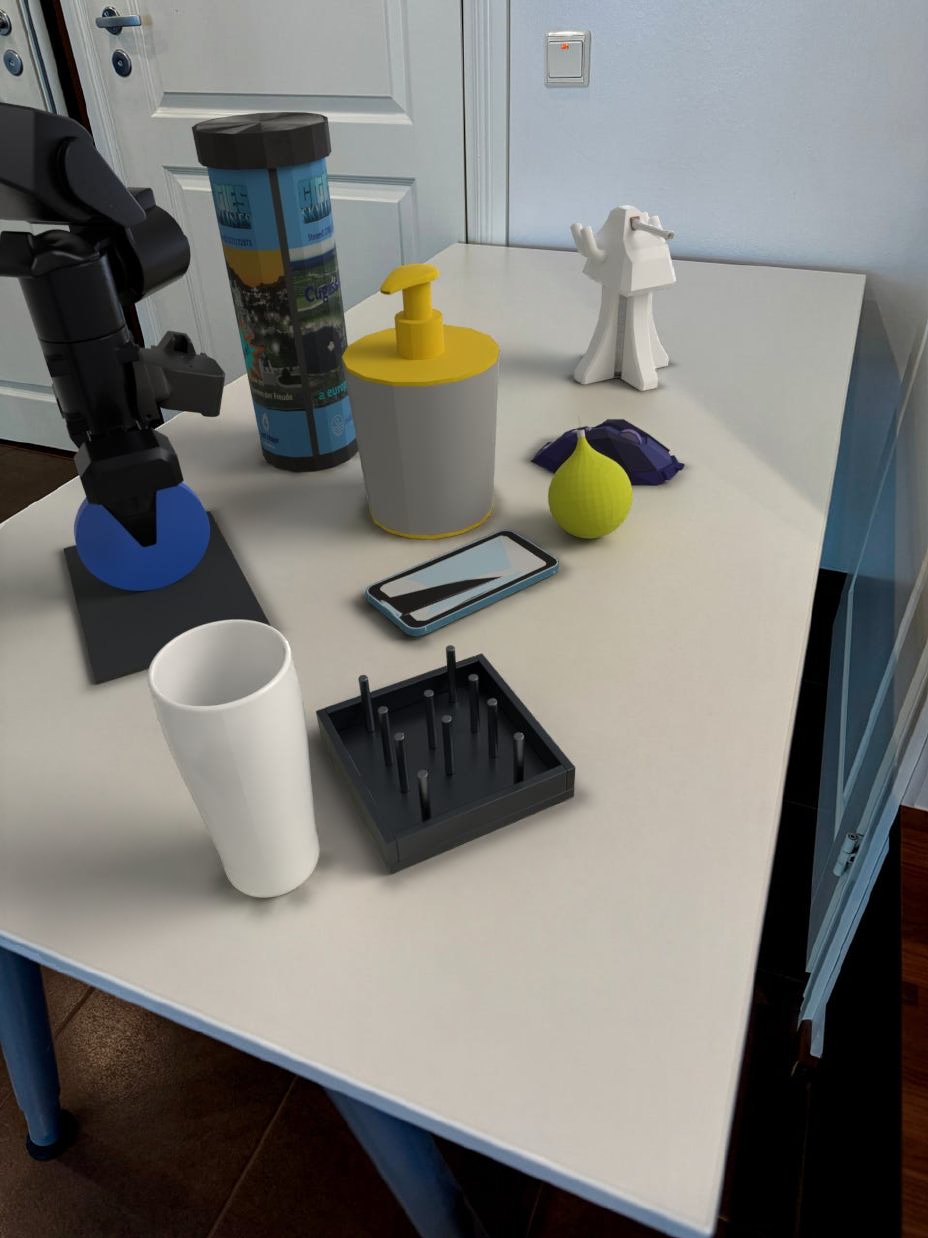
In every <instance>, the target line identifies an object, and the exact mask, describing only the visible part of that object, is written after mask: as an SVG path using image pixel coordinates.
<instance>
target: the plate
mask: <svg viewBox="0 0 928 1238" xmlns="http://www.w3.org/2000/svg"><path fill="white" fill-rule="evenodd" d="M209 536H210V525H209V520H208V516H207V513H206V509H205V507H204V505H203V503H202V501H201V499H200V498H199V497H198V495H197V493H195V491H194V490H192V489H191V487H190V486H189V485H187V484H186V483H184V481H183V482H181V483H180V484H179V485H178V486H175V487H171V488H167V489H163V490H159V491H157V543H156V544H155V545H152V546H148V547H142V546H141V545H140V544H139V543H138V542H137V541H136V540H135V539H134V538H133V537H132V536H131V535H130V534H129V533H128V532H127V531H126V530H125V528H124V527H123V526H122V525H121V524H120V523H119V522H118V521H117V520H116V519H115V518H114V517H113V516H112V515H111V514H110V513H109V512H108V511H107V510H106V509H105V508H104V507H103V506H102V505H94V504H89V503H88V500H87V497H86V496H85V498H84V499H83V501H82V502H81V504H80V506H79V507H78V509H77V512H76V514H75V518H74V523H73V538H74V542H75V545H76V546H77V550H78V553H79V556H80V558H81V560H82V562H83V563H84V565H85V566H86V567H87V569H88V570H89V571H90V572H91V573H92V574H93V575H95V576H96V577H97V578H98V579H100V580H101V581H103V582H105V583H107V584H109V585H111V586H114V587H117V588H120V589H125V590H131V591H148V590H155V589H159V588H163V587H166V586H168V585H171V584H173V583H175V582H177V581H179V580H180V579H182V578H183V577H185V576H186V575H187V574H189V573H190V572H191V571H192V570H193V569H194V568H195V567H196V566H197V564H198V563H199V562H200V560H201V559H202V557H203V555H204V554H205V551H206V549H207V546H208V542H209Z"/></svg>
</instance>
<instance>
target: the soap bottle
mask: <svg viewBox="0 0 928 1238" xmlns="http://www.w3.org/2000/svg"><path fill="white" fill-rule="evenodd" d="M439 277H440V270H439V268H437V267H436V266H435V265H432V264H428V263H407V264H403V265H400V266H398V267H396V268H395V269H393V270H392V271H391V272H390V273H389V274H388V275H387V277H385V279H384V281H383V282H382V284H381V285H380V287H379V291H380V293H381V294H382V295H385V296H392V295H393V294H396V293H398V292H402V306H403V310H400V311H398V312H397V313H395V314H394V327H389V328H386V329H383V330H379V331H376V332H372V333H369V334H366V335H363V336H362V337H360V338H358V339H357V340H355V341H354V342H351V343H350V344H348V347H347V349H346V351H345V352H344V354H343V356H342V364H343V369H344V375H345V380H346V385H347V391H348V396H349V402H350V407H351V412H352V418H353V423H354V429H355V434H356V439H357V445H358V455H359V460H360V466H361V471H362V477H363V482H364V488H365V493H366V499H367V504H368V509H369V513H370V516H371V518H372V520H373V523H374V524H375V525H377V526H378V527H380V528H381V529H383V530H384V531H386V532H387V533H388V534H393V535H396V536H400V537H404V538H408V539H418V540H419V539H421V540H422V539H423V540H424V539H425V540H438V539H442V538H449V537H453V536H454V537H455V536H459V535H462V534H464V533H466V532H469V531H471V530H473V529H475V528H477V527H479V526H481V525H482V524H484V522H485V521H486V520H487V519H488V518H489V516H491V515H492V512H493V506H494V492H495V489H494V488H495V470H496V469H495V468H496V467H495V466H496V465H495V464H496V445H497V444H496V441H497V421H498V400H499V399H498V394H499V376H500V375H499V374H500V373H499V372H500V351H501V350H500V345H499V344H498V343H497V342H496V341H495V339H493V337H492V336H491V335H489V334H487V333H484V332H481V331H479V330H477V329H474V328H471V327H464V326H458V325H452V324H444V323H443V322H444V321H443V313H442V312H441V311H440V310H438V309H436V308H433V300H432V299H433V297H432V284H431V282H434V281H435V280H437V279H439Z"/></svg>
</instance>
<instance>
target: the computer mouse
mask: <svg viewBox="0 0 928 1238" xmlns="http://www.w3.org/2000/svg"><path fill="white" fill-rule="evenodd" d="M580 427H581V429H580ZM580 427H576V428H572V429H569V430H567V431H564V432H563V433H562V434H561V435H560V436H558V437H557V438H556V439H554V440H552V441H547V442H546V444H544V445H543V446H542V447H541V448H540V449H539V450H538V451H537V452H536V454H534V456H533V458H532V459H531V462H532V463H534V464H536V465H538V466H540V467H542V468H543V469H545V470H547V471H550V472H552V473H554V474H555V473H556V471H557V470H558V469H559V468H560V467H561V466H562V464H563V463H564V462H566V461H567V460H568V458H569V457H570V456H571V455H572V454H573V452H574V451H575V449H576V446H577V442H578V437H577V431H580V430H584V432H585V439H586V441H587V443H588V444H589V445H590V446H591V448H593V449H594V450H595V451H597V452H598V453H600V454H602V455H604V456H606V457H608V458H610V459H611V460H613V461H615V462H616V463H618V464H619V465H620V466H621V467H622V468H623V470H624V471H625V472H626V474H627V476H628V478H629V480H630V483H631V486H634V485H635V486H636V485H637V486H658V485H661V484H662V483H665V482H669V481H670V480H672V479H673V478H674V477H675V476H676V475H677V474H678V473H679V472H680V471H683V469H684V468H685V466H686V464H685V463H684V462H679V460H678V458H677V457H676V455H675V454H674V455H673V454H672V455H671V454H670V451H671V450H670V449H669V448H668V447H667V446H665V444H663V443H662V442H660V441H658V439H656V438H655V437H653V436H652V435H651V434H650V433H648V432H646V431H644V430H642V429H641V428H640V427H638V426H636V425H634V424H633V423H631V422H629V421H628V420H626V419H624V418H606V419H605V420H604V421H603V422H602V423H599V424H598V425H595V426H588V425H585V426H580Z"/></svg>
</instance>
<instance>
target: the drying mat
mask: <svg viewBox="0 0 928 1238" xmlns="http://www.w3.org/2000/svg"><path fill="white" fill-rule="evenodd" d="M205 511H206V510H205ZM206 513H207V516H208V520H209V525H210V536H209V542H208V546H207V549H206V551H205V554H204V555H203V557H202V559H201V560H200V562H199V563H198V564H197V566H196V567H195V568H194V569H193V570H192V571H191V572H190V573H189V574H187V575H186V576H185V577H183V578H182V579H180V580H179V581H177V582H175V583H173V584H171V585H168V586H166V587H163V588H159V589H155V590H148V591H131V590H125V589H120V588H117V587H114V586H111V585H109V584H107V583H105V582H103V581H101V580H100V579H98V578H97V577H96V576H95V575H93V574H92V573H91V572H90V571H89V570H88V569H87V567H86V566H85V565H84V563H83V562H82V560H81V558H80V556H79V553H78V550H77V546H76V544H75V545H71V546H67V547H64V548H63V552H64V557H65V560H66V565H67V570H68V574H69V579H70V582H71V587H72V590H73V594H74V598H75V602H76V603H75V604H76V607H77V611H78V616H79V620H80V624H81V628H82V632H83V636H84V641H85V645H86V650H87V653H88V658H89V662H90V666H91V670H92V675H93V678H94V682H95V685H99V684H102V683H105V682H109V681H112V680H116V679H118V678H122V677H125V676H129V675H131V674H135V673H138V672H141V671H144V670H147V669H148V670H149V667H150V664H151V662H152V660H153V659H154V657H155V656H156V654H157V653H158V652H159V651H160V650H161V649H162V648H163V647H164V646H165V645H166V644H167V643H169V642H170V641H171V640H173V639H174V638H175V637H177V636H179V635H180V634H182V633H184V632H186V631H188V630H190V629H193V628H195V627H198V626H201V625H204V624H208V623H212V622H217V621H223V620H251V621H257V622H261V623H264V624H267V625H269V626H271V627H272V625H271V623H270V621H269V619H268V617H267V616H266V614H265V612H264V610H263V608H262V606H261V604H260V603H259V601H258V599H257V597H256V595H255V593H254V591H253V589H252V588H251V585H250V584H249V582H248V580H247V578H246V575H245V574H244V572H243V570H242V568H241V567H240V565H239V563H238V561H237V559H236V557H235V555H234V553H233V551H232V550H231V547H230V546H229V543H228V542H227V540H226V538H225V537H224V534H223V532H222V531H221V529H220V526H219V524H218V523H217V521H216V519H215V517H214V514H213V513H212V511H211V510H207V511H206Z"/></svg>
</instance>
